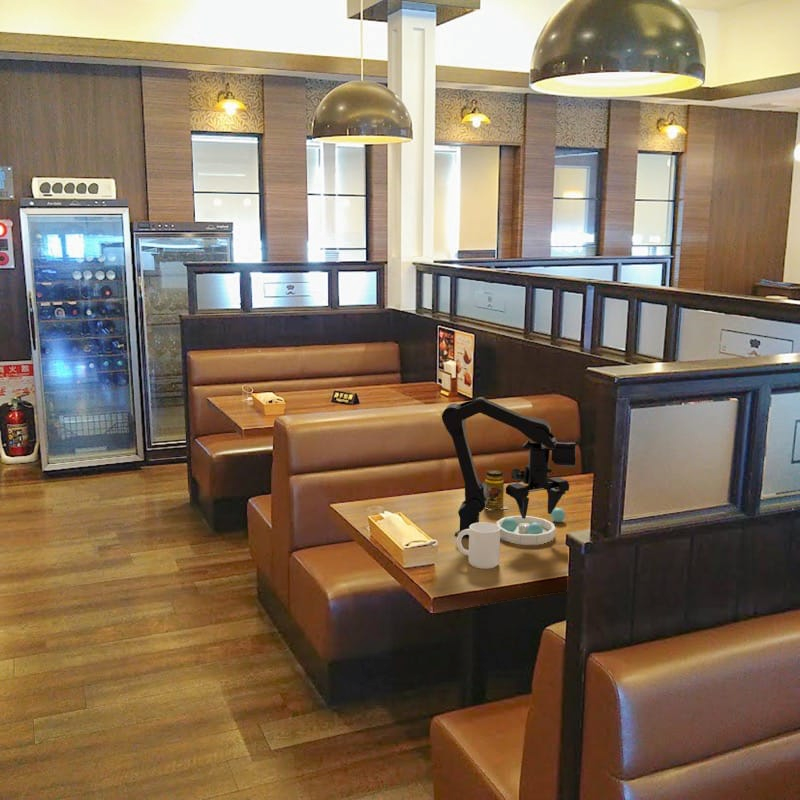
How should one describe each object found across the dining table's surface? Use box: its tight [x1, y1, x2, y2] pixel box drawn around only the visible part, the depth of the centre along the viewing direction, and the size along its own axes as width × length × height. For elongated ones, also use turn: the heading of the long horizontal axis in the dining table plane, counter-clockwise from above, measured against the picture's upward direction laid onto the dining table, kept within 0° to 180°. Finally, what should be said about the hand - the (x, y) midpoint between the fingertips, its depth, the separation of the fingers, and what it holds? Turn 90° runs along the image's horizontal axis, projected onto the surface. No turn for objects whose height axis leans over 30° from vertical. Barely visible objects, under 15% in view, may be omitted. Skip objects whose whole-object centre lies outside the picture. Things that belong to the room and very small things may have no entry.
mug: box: [456, 521, 501, 570], centre depth 228 cm, size 12×8×10 cm
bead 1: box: [502, 516, 517, 532], centre depth 250 cm, size 4×4×4 cm
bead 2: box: [528, 523, 543, 534], centre depth 246 cm, size 4×4×4 cm
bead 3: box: [550, 507, 566, 523], centre depth 262 cm, size 4×4×4 cm
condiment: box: [484, 469, 509, 512], centre depth 275 cm, size 7×8×12 cm
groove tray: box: [495, 515, 557, 546], centre depth 250 cm, size 17×17×3 cm
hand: (536, 516), depth 245 cm, fingers open, 9 cm apart
